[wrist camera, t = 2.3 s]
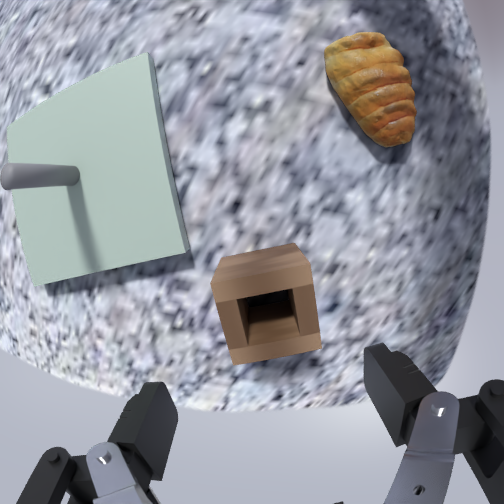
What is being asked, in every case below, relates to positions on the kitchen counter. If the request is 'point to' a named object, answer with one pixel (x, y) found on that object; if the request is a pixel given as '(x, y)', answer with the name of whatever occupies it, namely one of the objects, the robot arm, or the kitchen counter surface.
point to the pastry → (373, 86)
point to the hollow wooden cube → (269, 315)
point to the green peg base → (94, 176)
